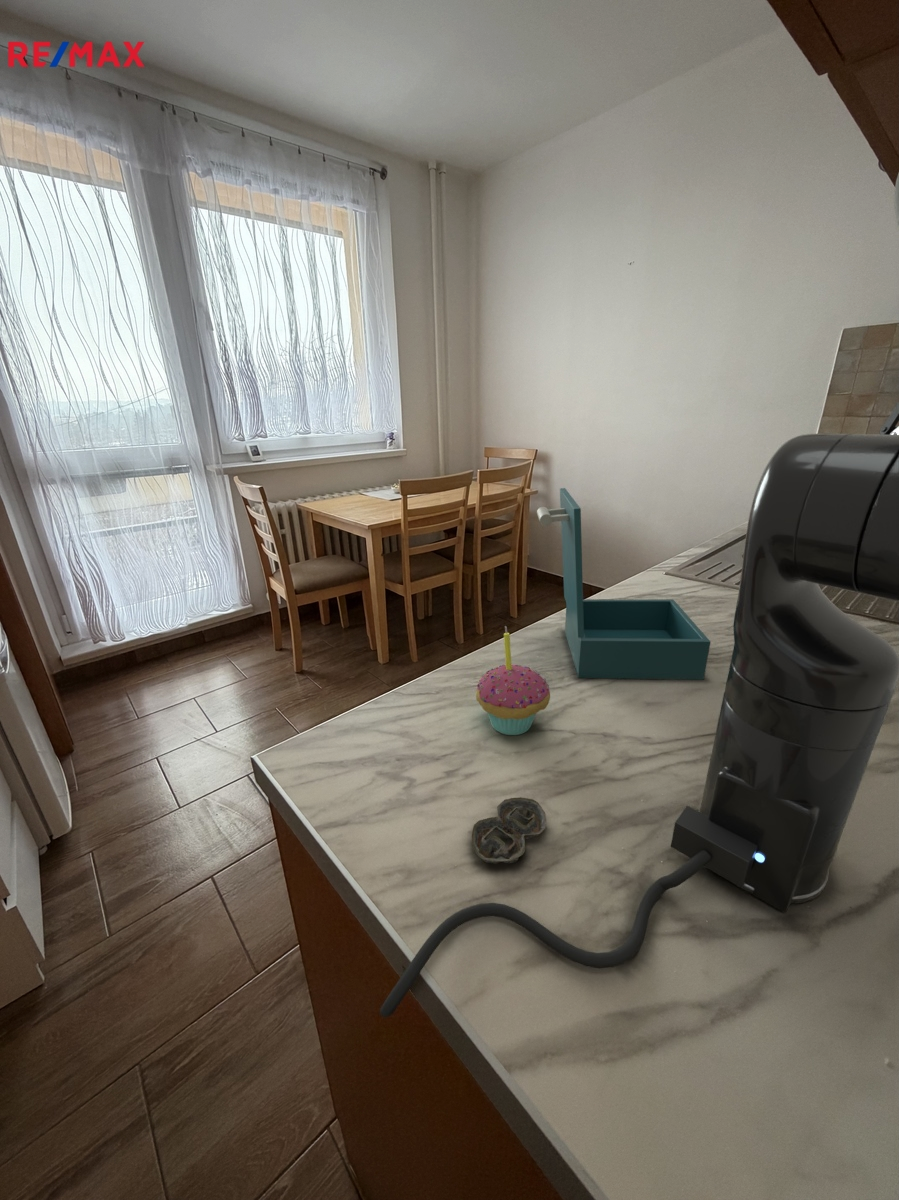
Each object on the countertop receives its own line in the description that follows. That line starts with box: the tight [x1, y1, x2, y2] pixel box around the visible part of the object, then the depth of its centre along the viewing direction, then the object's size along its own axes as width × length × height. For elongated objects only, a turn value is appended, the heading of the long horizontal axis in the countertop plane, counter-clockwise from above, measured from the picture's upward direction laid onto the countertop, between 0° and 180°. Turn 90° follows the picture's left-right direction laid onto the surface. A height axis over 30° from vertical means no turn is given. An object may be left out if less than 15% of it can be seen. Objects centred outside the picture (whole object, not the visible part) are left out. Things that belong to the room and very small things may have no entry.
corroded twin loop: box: [471, 796, 547, 864], centre depth 43 cm, size 5×8×1 cm, turn 135°
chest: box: [564, 598, 711, 681], centre depth 71 cm, size 17×15×6 cm
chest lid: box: [536, 487, 584, 638], centre depth 68 cm, size 17×15×5 cm
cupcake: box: [475, 625, 551, 736], centre depth 56 cm, size 9×8×12 cm
